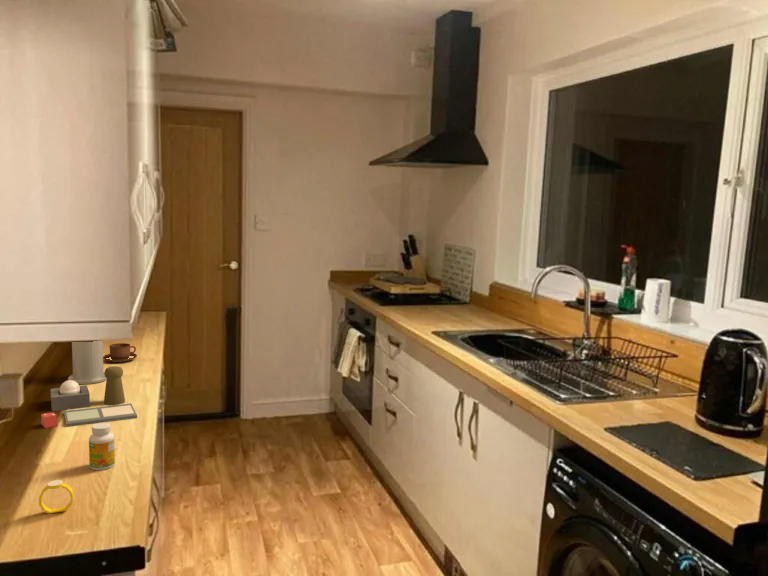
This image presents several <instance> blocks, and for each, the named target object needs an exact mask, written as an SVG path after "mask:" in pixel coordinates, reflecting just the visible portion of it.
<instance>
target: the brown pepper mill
mask: <svg viewBox="0 0 768 576" xmlns="http://www.w3.org/2000/svg"><path fill="white" fill-rule="evenodd" d="M103 372H104V374H105V377H106V378H107V379H106V380H105V381H106V383H105V390H104V396H103V397H104V398H103V404H104V405H105V406H114V405H122V404H125V403H126V398H125V393H124V387H123V386H124V385H123V381H122V377H123V374H124V371H123V368H122V367H121V366H118V365H117V366H115V365H113V366H108V367H106V368H105V370H104V371H103Z"/></svg>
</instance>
